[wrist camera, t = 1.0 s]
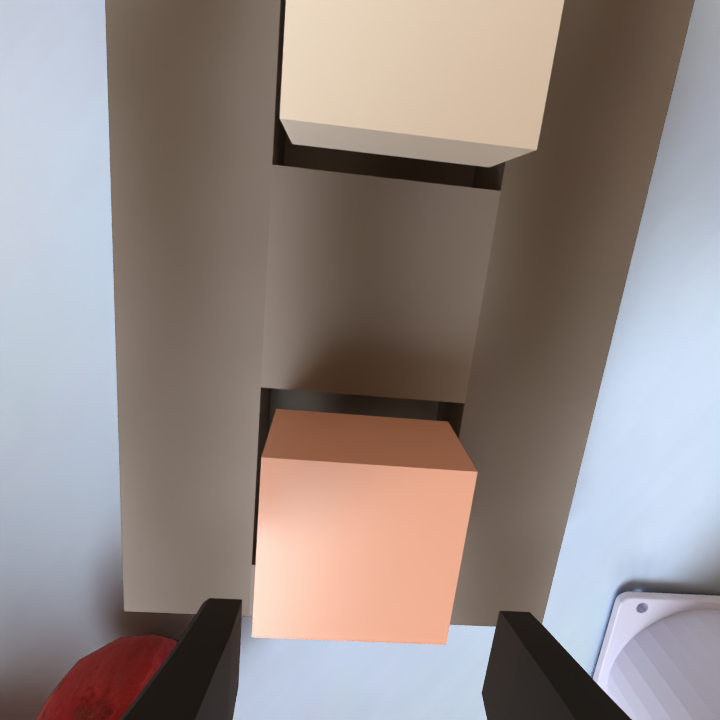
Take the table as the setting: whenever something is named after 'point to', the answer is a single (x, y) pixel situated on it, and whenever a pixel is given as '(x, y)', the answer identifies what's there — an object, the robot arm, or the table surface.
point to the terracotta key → (360, 528)
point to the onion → (107, 679)
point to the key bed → (361, 288)
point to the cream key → (419, 76)
